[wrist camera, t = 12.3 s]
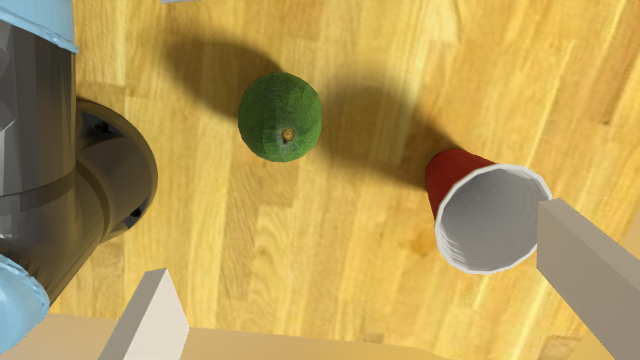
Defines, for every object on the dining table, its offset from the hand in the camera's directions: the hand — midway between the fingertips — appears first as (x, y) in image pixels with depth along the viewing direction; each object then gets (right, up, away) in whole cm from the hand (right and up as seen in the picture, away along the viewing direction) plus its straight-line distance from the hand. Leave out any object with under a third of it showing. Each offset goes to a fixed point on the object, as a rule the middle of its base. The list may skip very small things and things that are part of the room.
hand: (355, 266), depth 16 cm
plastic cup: (+13, +4, +34) cm, 36 cm away
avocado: (-5, +11, +30) cm, 32 cm away
